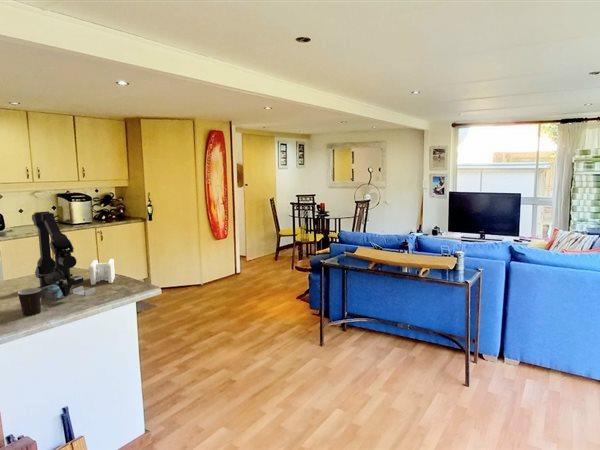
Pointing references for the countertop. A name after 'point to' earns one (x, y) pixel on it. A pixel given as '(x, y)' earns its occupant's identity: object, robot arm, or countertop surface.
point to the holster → (82, 291)
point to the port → (49, 293)
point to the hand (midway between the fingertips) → (65, 296)
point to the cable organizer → (102, 271)
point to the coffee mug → (30, 301)
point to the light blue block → (55, 290)
